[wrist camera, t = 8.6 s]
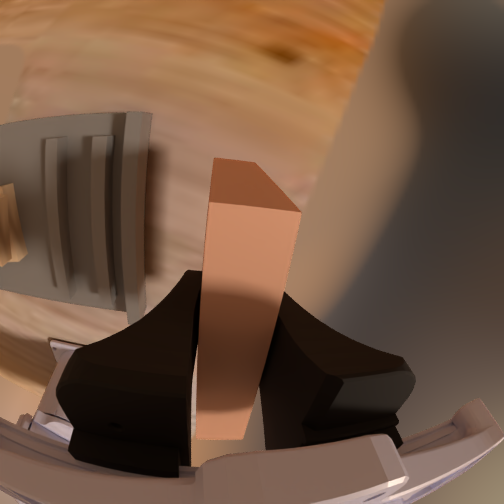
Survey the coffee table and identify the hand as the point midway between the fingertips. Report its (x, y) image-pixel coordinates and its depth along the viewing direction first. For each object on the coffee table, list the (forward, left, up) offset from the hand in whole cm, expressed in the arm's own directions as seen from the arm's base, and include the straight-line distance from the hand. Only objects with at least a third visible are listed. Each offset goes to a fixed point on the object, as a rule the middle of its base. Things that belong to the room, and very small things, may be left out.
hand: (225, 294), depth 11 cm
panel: (0, 0, -4) cm, 4 cm away
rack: (0, +14, -9) cm, 17 cm away
